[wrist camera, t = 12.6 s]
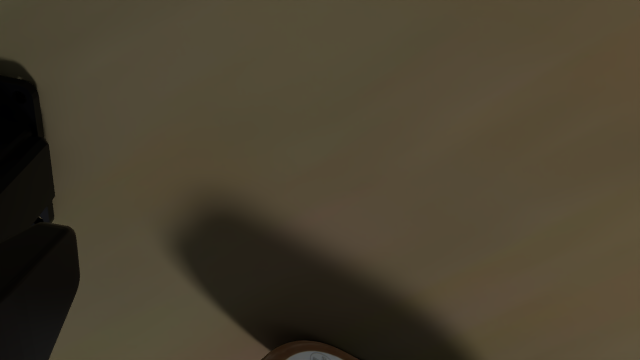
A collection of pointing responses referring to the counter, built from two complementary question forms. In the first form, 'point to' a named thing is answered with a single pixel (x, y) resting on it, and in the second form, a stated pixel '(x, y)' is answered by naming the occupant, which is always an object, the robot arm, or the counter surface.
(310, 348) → the tin
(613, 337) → the counter surface
